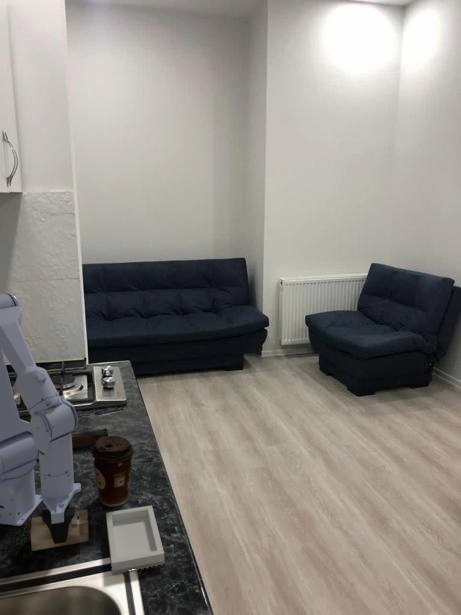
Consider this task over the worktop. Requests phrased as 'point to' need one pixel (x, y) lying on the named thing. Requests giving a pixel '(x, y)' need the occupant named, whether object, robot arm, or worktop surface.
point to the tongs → (75, 533)
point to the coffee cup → (112, 469)
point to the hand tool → (88, 438)
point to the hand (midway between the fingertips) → (60, 532)
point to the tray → (133, 539)
